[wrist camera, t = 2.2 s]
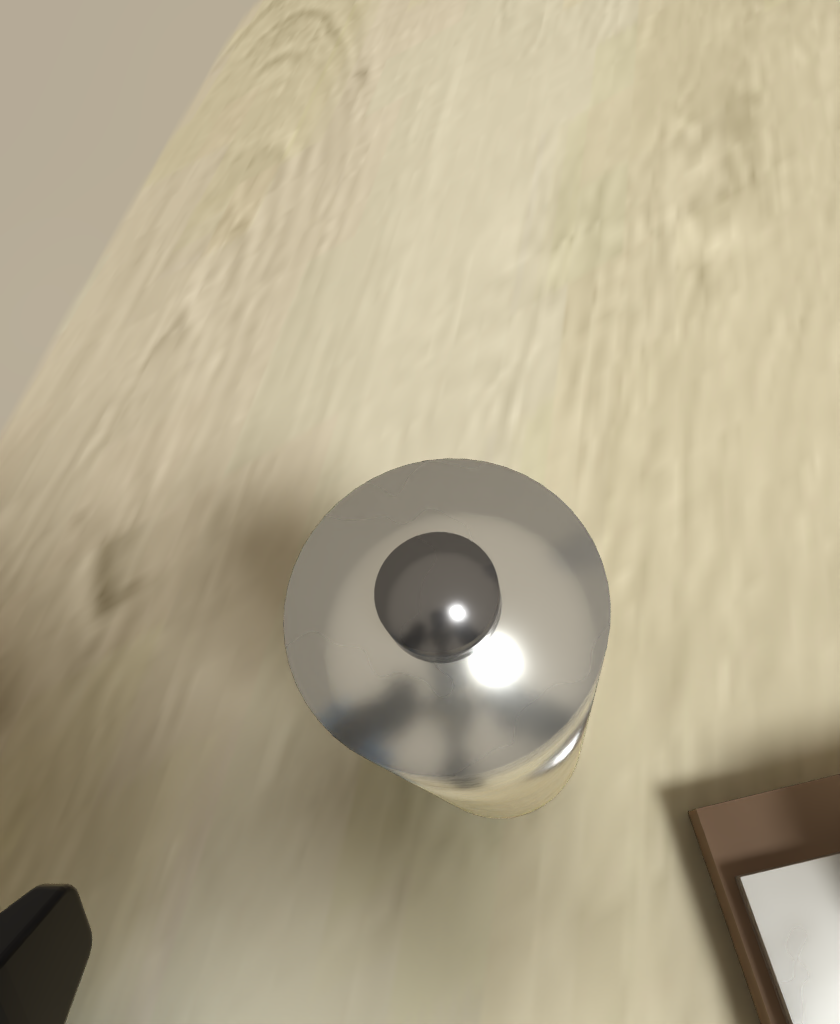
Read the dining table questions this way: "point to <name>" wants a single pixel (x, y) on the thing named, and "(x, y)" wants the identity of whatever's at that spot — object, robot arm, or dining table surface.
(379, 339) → the dining table surface
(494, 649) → the hinge barrel
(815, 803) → the board
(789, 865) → the hinge leaves
